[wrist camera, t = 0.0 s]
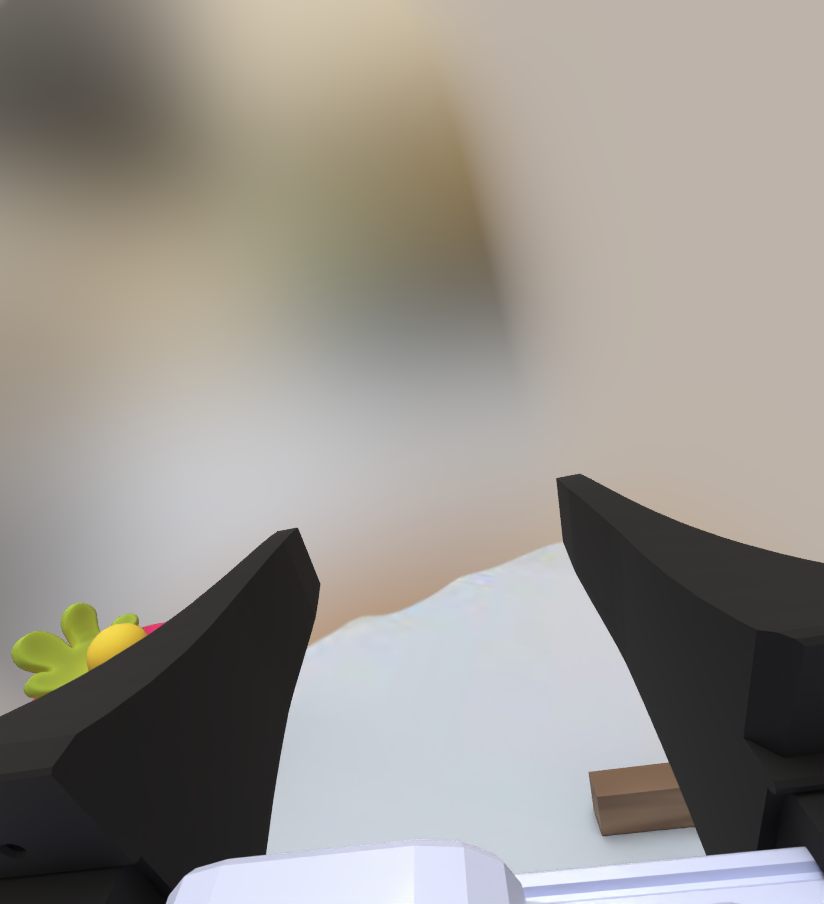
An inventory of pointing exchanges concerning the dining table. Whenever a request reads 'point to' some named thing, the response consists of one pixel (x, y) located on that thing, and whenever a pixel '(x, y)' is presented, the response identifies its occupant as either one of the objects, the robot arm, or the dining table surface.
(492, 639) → the dining table surface
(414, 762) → the dining table surface
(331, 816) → the dining table surface
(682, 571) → the robot arm
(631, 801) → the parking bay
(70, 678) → the cake
